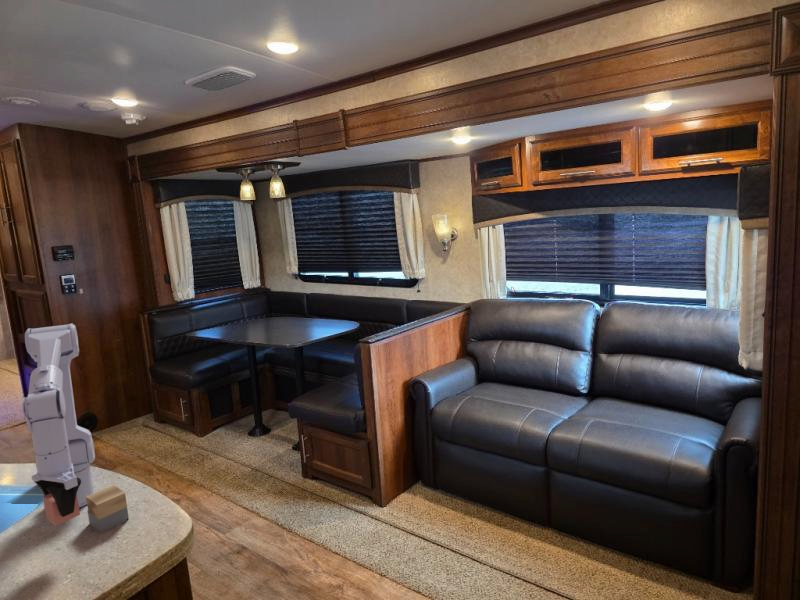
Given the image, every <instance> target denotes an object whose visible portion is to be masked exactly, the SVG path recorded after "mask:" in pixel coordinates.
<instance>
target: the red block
mask: <svg viewBox="0 0 800 600" xmlns="http://www.w3.org/2000/svg"><path fill="white" fill-rule="evenodd" d="M42 501H43V507H44V512H45V513H44V514H45V517H46V520H48V521H49V522H50V523H51V524H53V525H54V526H58V525H61V524H63V523H65V522H67V521H69V520H71V519H74V518H76V517H79V516H80V515H81V513H80V508H79V506H78V500H77V494H76V499H75V507H74V512H73V513H71V514H69V515H67V516H64V517H62V516H61V514H60V512H59V510H58V507H57V504H56V502H55V500H54V498H53V496H52V495H51V494H47V495H43V496H42Z"/></svg>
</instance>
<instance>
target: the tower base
mask: <svg viewBox="0 0 800 600" xmlns="http://www.w3.org/2000/svg"><path fill="white" fill-rule="evenodd" d="M87 517H88V523H89V525H91V527H93V528H94V529H96V530H97V531H99V532H100V534H101V533H104V532H106V531H108V530H111V529H112V528H114V527H116V526H118V524H119V525H120V523H121V524H123V523H124V521H125V522H127V521H128V520H127V519H129V518H130V517H129V512H128V506H127V507H126V508H124V509H121V510H119V511H117V512H115V513H113V514H110V515H108V516H106V517H104V518H102V519H98V518H97V517H95V516H94V515H93V514H92V513H90V512H89V511H88V510H87ZM126 520H127V521H126ZM129 520H130V519H129ZM122 522H123V523H122Z"/></svg>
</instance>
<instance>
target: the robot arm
mask: <svg viewBox="0 0 800 600" xmlns="http://www.w3.org/2000/svg"><path fill="white" fill-rule="evenodd" d="M24 343H25V349H26V352H27V353H28V354H29V355H30V357H31V359H32V360H33V361H34V362H35V363H37V367H35V368H34V369H33V370H32V372H30V373H31V374H30V375H29V376H30V377H29V385H28V394H27V396H26V397H25V396H24V397H23V398H22V414H23V417H24V420H25V423H26V424H27V430H28V433H31V434H30V435H31V439H32V440H31V441H32V445H33V451H34V456H35V458H34V459H35V467H36V474H32V476H31V480H32V481H33V482H34V483H35V484H36V485H37V486H38V487H39V489H40V490H41V492H42V493H43V496H45V495H47V494H51V495H52V496H53V498H54V500H55V502H56V504H57V507H58V510H59V512H60V514H61V516H62V517H64V516H67V515H69V514H71V513H73V512H74V507H75V499H76V494H77V500H78V506H79V509H80V508H81V507H84V506H86V505H87V501H86V496H88V495H91V494H93V493H95V492H96V491H95V489H94V483H93V477H92V471H91V465H90V464H92V463H93V462H94V461H95V458H96V454H95V444H94V440H93V437H92V436H93V435H92V432H91V431H90V429H87V428H85V427H82V426H80V425H78V422H77V415H76V409H75V407H76V406H75V399H74V391H73V383H72V374H71V363H72V360H73V359H74V358H76V357H79V354H80V347H79V337H78V330H77V327H76V325H75V324H74V323H69V324H63V325H62V324H61V325H52V326H45V327H37V328H30V327H29V328H27V329H26V331H25V333H24Z"/></svg>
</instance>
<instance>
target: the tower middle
mask: <svg viewBox="0 0 800 600" xmlns="http://www.w3.org/2000/svg"><path fill="white" fill-rule="evenodd" d="M86 501H87V504H86V505H87V512H88V511H89V512H90V513H92V514H93V515H94V516H95V517H97V518H98V519H102V518H104V517H106V516H108V515H110V514H113V513H115V512H117V511H119V510H121V509H124V508H126V507H127V508H128V504H127V499H126V492H125V491H124V490H122V489H120V488H119V487H117V486H116V485H114V484H113V485H110V486H108V487H106V488H103V489H100V490H98V491H95V493H93V494H91V495H88V496H86Z"/></svg>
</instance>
